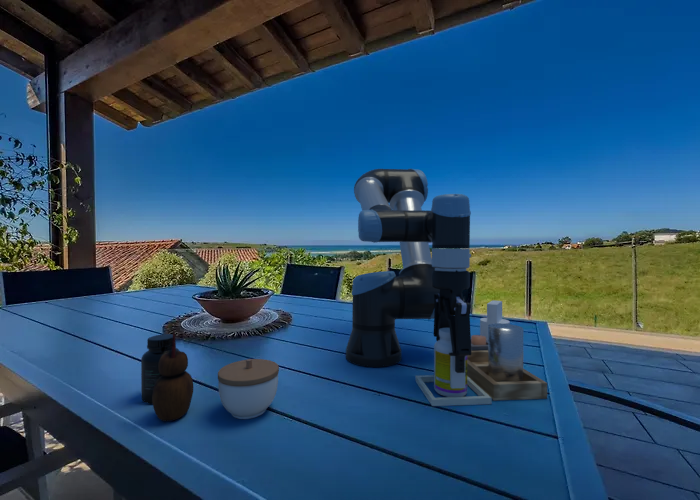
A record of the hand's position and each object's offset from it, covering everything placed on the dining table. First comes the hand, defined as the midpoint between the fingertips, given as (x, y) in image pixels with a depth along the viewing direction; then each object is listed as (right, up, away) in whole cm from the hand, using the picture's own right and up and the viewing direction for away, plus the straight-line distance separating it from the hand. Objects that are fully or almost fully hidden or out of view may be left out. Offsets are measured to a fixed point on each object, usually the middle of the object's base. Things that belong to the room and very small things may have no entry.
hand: (450, 379), depth 67 cm
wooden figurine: (-52, -3, -10) cm, 53 cm away
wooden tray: (+12, -3, +7) cm, 14 cm away
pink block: (+15, -2, +22) cm, 26 cm away
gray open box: (+15, -2, +22) cm, 26 cm away
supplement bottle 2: (0, -3, 0) cm, 3 cm away
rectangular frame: (0, -3, 0) cm, 3 cm away
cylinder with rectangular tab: (+27, -3, +40) cm, 48 cm away
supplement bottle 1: (-59, -3, -2) cm, 59 cm away
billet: (+12, -3, +2) cm, 13 cm away
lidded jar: (-39, -3, -8) cm, 40 cm away
